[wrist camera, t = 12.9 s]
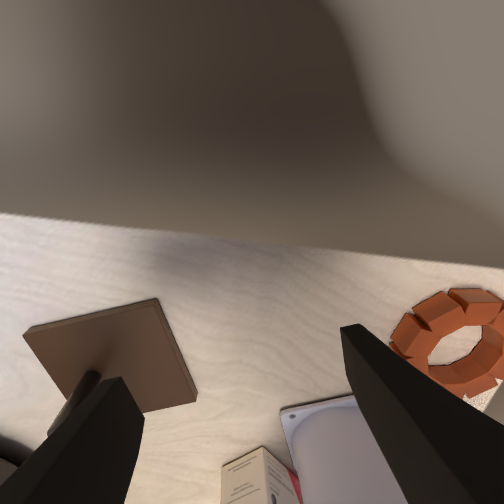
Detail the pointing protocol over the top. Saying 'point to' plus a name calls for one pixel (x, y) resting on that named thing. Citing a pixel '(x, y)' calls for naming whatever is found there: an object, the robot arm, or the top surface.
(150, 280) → the top surface
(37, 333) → the post stand
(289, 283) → the top surface
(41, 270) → the top surface
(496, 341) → the ring
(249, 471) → the ink box
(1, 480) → the planter
